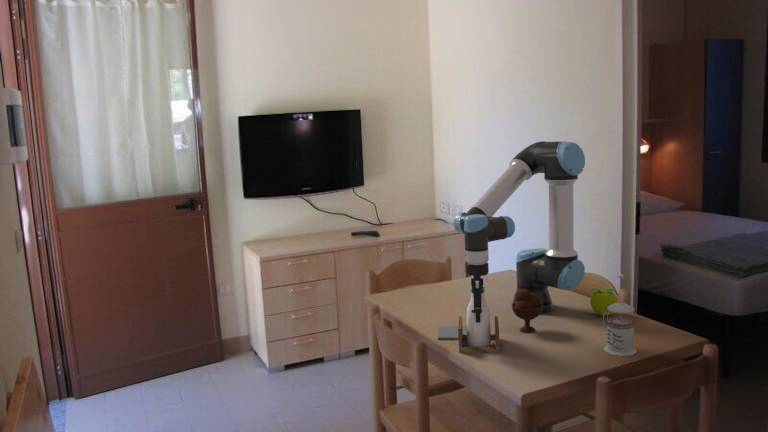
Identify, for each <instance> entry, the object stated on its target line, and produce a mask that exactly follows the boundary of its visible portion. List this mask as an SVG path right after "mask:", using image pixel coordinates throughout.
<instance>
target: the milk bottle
mask: <svg viewBox="0 0 768 432" xmlns="http://www.w3.org/2000/svg"><path fill="white" fill-rule="evenodd" d="M485 294H486V293H485V287H484V286H483V293H482V294H481V302H482V332H474V313H472V310H474V294H473V293H472V286H471V287H470V295H471V296H470V301H469V303H468V305H467V309H466V326H467V342H466V343H467V347H491V343H492V342H491V340H492V339H491V337H490V334H491V314H490V313H491V312H490V308H489V305H488V303H487V301H486V298H485ZM476 309H480V308H476Z"/></svg>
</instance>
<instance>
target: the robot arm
mask: <svg viewBox="0 0 768 432" xmlns="http://www.w3.org/2000/svg"><path fill="white" fill-rule="evenodd" d="M585 164H586V157H585V154H584V151H583V149H582V148H581V147H580V145H579V144H578V143H576V142H572V141H566V140H565V141H544V140H543V141H541V140H540V141H537V142H533V143H531V144H530V145H528V146H527V147H525V148H524V149H522V150H521V151H520V152H519V153H517V154H516V155H515V156H514V157H513V158H512V159H511V160H510V162H509V164H508V165H509V166H508V167H507V168H506V170H505V171H504V172H503V173H501V175H500V176H499V177H498V178H497V179H496V180H495V181H494V183H493V184H492V185H491V186H490V187H489V188H488V189H487V190H486V191H485V192H484V193H483V194H482V196H480V198H479V199H478V200H477V201H475V203H474V204H473V205H472V206H471V208H470V209H469V210H467V212H459V213H457V214H456V215H455V217H454V218H453V228H454V230H455V231H456V232H457V233H459V234H461V235H464V252H463V253H462V255H463V256H464V259H465V264H464V265H465V268H464V269H465V270H464V271H465V274H466V275H467V276H470V277H471V279H470V285H471V287H472V293H473V294H474V310H472V313H474V332H482V302H481V294H482V293H483V287H484V278H483V277H484V276H486V275H488V274H489V263H488V262H489V259H490V257H489V243H490V242H496V241H501V240H505V239H508V238H511V237H513V235H514V233H515V231H516V224H515V221H514V220H513V218H511V217H510V216H507V215H499V216H494V215H495V214H496V213H497V212H498V211H499V209H500V208H502V206H503V205H504V204H505V203H506V202H507V201H508V199H509V198H510V197H511V196H512V195H513V194H514V193H515V192H516V191H517V190H518V189H519V187H521V185H522V184H523V183H524V182H525V181H528V180H530V179H531V178H533V176H534V175H536V174H544V177H543V178H544V181H545V182H546V183H547V184H548V236H549V237H548V246H549V247H548V248H547V249H546V248H528V249H524V250H519V252H517V254H516V261H515V265H516V290H515V293H516V292H517V291H518V290H520V289H525V290H528V291H529V292H531V293H534V294H536V295H537V296H538V298H539V300H540V303H542V304H543V310H542V312H541V314H542V313H547V312H550V311H551V310H553V300H552V297H551V295H550V291H549V288H548V287H551V288H555V289H559V290H561V291H563V290H564V291H573V290H575V289H577V288H578V287H579V286H580V284H581V283H582V282H583V279H584V277H585V272H586V270H585V264H584V263H583V261H581V260H580V259H579V258H578V257H579V256H578V255H579V253H578V251H577V250H576V249H575V248H574V184H575V182H577V181H578V180H579V179H578V178H579V175H580V174H581V173H583V171H584V168H585ZM472 277H473V278H472ZM514 302H516V300H515V295H514V297H513V300H512V303H514ZM476 308H480V309H476Z"/></svg>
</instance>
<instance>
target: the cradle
mask: <svg viewBox="0 0 768 432" xmlns="http://www.w3.org/2000/svg"><path fill="white" fill-rule="evenodd" d="M457 326H458V336H459V340H458V353H486V354H487V353H489V352H490V353H493V352H494V353H495V352H500V327H499V317H498V315H494V333H490V337H491V340H494V343H495V346H489V347H469V346H463V343H464V342H463V341H464V340H463V337H467V334H463V329H462V326H463V315H458V324H457ZM495 354H496V353H495Z"/></svg>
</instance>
